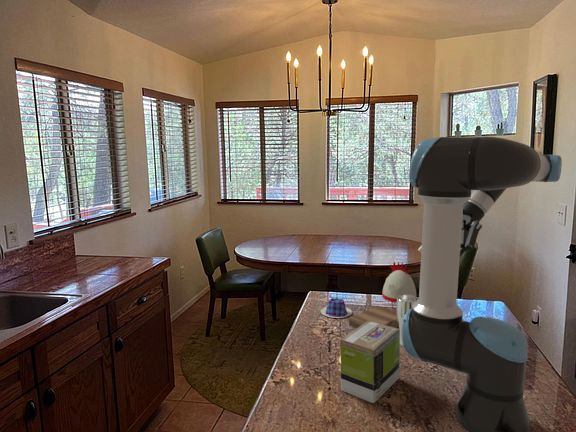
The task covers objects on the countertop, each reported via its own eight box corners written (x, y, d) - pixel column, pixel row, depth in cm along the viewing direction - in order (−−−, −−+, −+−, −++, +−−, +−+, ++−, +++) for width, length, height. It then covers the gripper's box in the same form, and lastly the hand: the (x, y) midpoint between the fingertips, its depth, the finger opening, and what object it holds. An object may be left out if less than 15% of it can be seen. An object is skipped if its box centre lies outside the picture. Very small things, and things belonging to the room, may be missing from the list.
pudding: (353, 309, 165) (353, 296, 164) (350, 321, 154) (350, 307, 153) (323, 306, 168) (323, 293, 168) (317, 318, 157) (317, 304, 156)
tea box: (367, 367, 121) (368, 318, 119) (400, 379, 115) (402, 328, 113) (339, 390, 110) (339, 337, 107) (373, 405, 104) (375, 349, 101)
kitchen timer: (388, 289, 186) (389, 256, 184) (419, 294, 179) (421, 260, 177) (377, 299, 174) (378, 264, 172) (411, 305, 167) (412, 269, 165)
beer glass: (413, 337, 140) (415, 294, 137) (420, 347, 133) (422, 301, 130) (392, 337, 140) (393, 294, 137) (398, 347, 133) (400, 302, 130)
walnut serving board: (376, 336, 141) (376, 328, 140) (348, 325, 150) (349, 317, 149) (404, 323, 151) (404, 315, 150) (377, 313, 160) (377, 305, 159)
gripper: (511, 222, 124) (466, 278, 123) (456, 207, 147) (418, 254, 146) (497, 206, 121) (451, 263, 120) (443, 194, 145) (404, 241, 144)
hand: (432, 258), depth 133 cm, fingers open, 13 cm apart
